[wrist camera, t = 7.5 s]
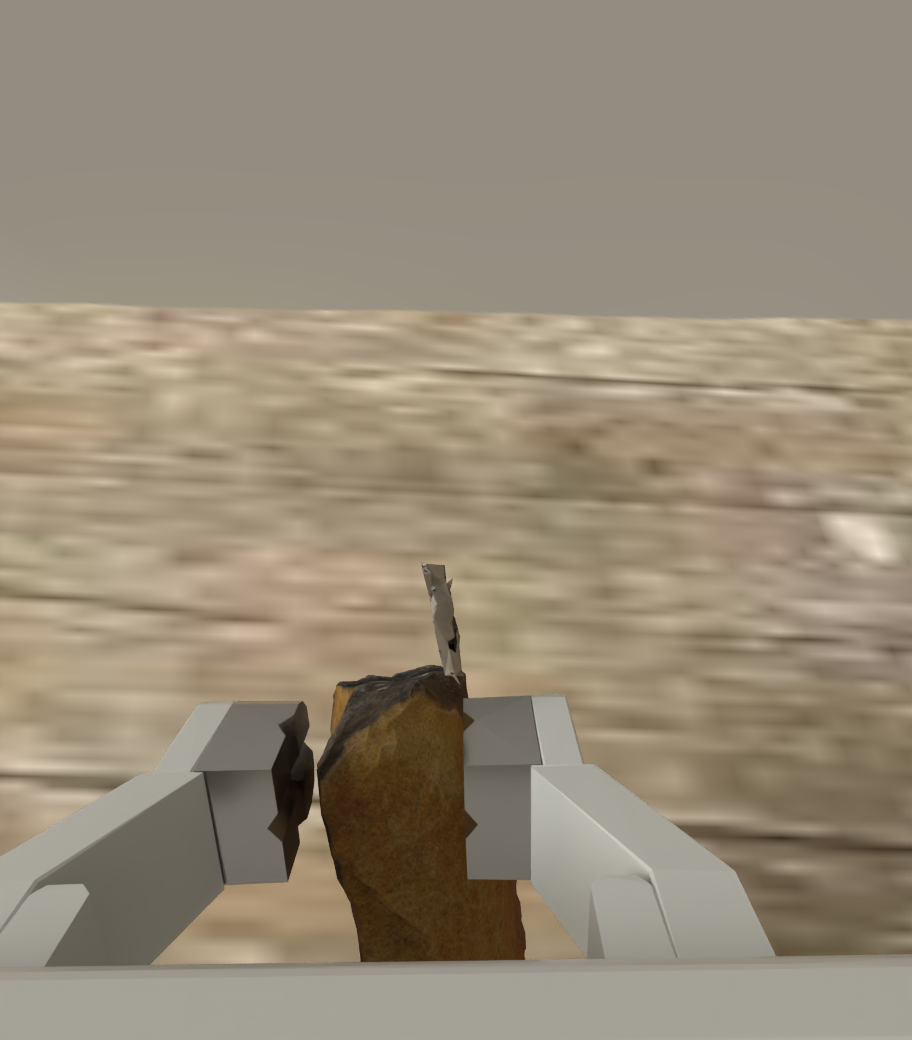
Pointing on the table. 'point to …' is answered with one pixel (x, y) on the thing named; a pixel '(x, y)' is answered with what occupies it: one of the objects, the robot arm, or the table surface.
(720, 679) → the table surface
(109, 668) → the table surface
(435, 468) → the table surface
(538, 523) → the table surface
